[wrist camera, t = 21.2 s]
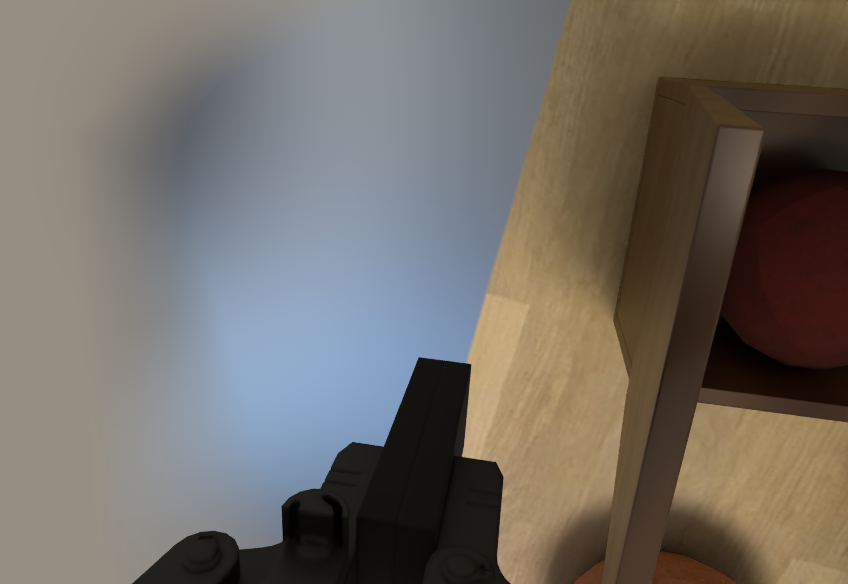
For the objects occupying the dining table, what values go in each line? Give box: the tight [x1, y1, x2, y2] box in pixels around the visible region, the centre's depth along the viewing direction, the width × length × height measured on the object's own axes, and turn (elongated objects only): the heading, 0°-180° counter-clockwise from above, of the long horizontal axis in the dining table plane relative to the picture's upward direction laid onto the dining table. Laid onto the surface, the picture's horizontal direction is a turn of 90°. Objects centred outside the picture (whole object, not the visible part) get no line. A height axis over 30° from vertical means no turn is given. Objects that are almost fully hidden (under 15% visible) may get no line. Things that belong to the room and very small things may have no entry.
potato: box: [720, 169, 848, 370], centre depth 37 cm, size 12×11×8 cm
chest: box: [614, 77, 848, 422], centre depth 36 cm, size 19×17×10 cm
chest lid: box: [602, 85, 766, 584], centre depth 24 cm, size 20×17×1 cm
